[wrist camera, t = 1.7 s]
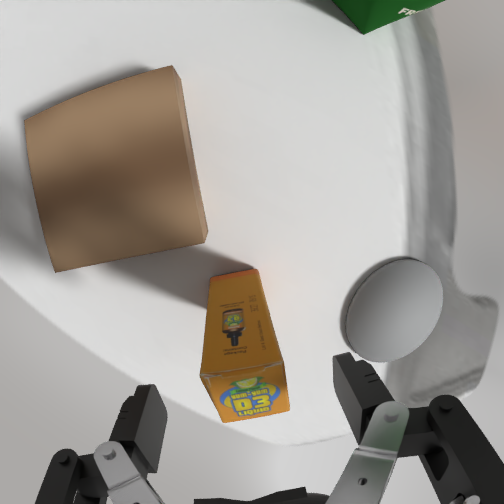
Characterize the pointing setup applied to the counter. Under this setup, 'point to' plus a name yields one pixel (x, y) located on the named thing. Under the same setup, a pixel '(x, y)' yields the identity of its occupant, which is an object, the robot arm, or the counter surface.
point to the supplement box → (242, 350)
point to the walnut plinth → (116, 172)
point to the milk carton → (380, 11)
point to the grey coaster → (394, 310)
